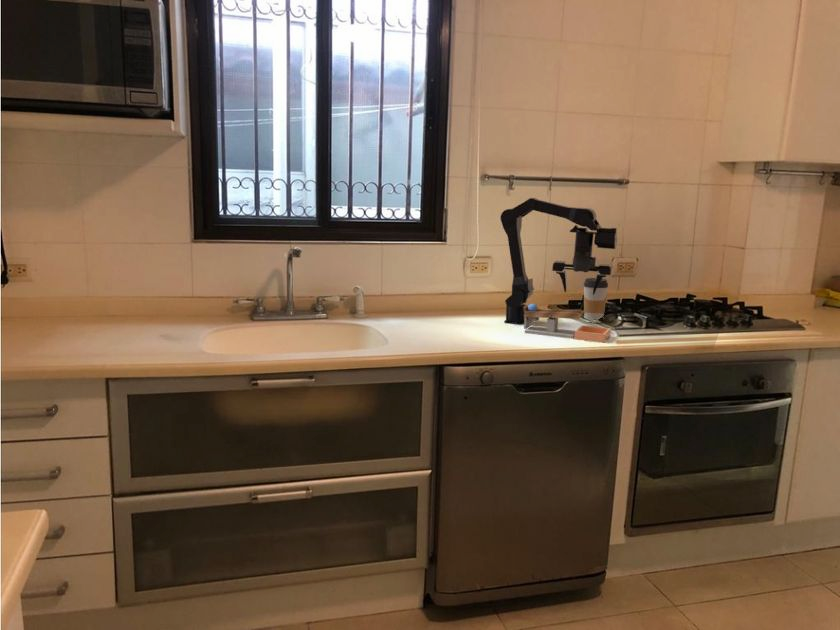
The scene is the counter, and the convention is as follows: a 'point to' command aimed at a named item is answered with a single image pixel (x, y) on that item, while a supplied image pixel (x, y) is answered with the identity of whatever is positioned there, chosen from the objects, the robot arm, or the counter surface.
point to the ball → (532, 307)
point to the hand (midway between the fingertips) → (579, 293)
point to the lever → (551, 314)
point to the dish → (592, 333)
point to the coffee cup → (594, 298)
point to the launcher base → (548, 329)
